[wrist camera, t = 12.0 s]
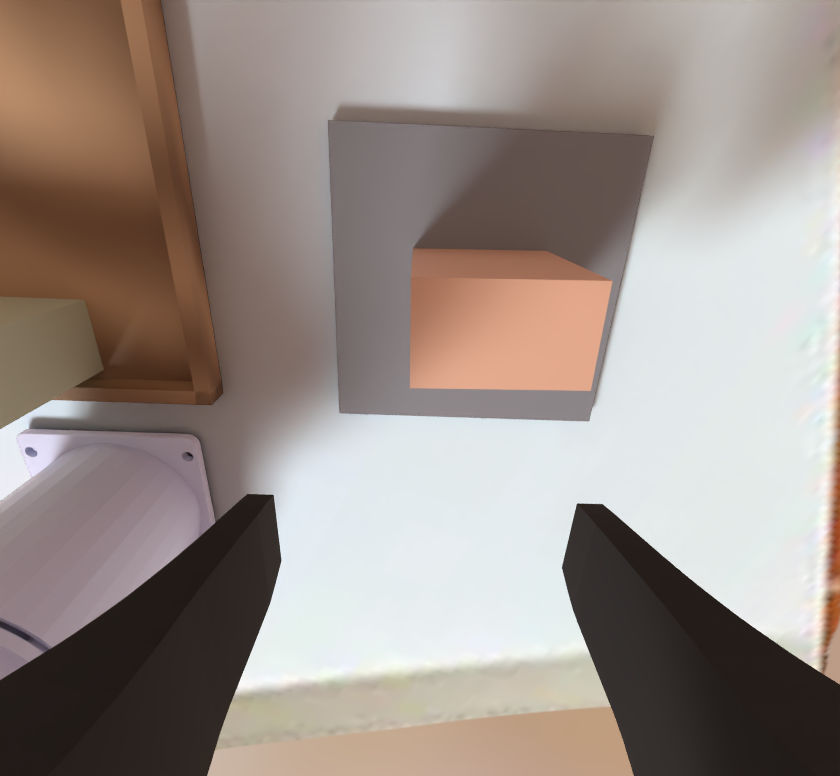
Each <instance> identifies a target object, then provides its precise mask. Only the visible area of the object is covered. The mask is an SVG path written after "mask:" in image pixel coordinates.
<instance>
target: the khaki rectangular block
mask: <svg viewBox="0 0 840 776" xmlns="http://www.w3.org/2000/svg"><path fill="white" fill-rule="evenodd" d="M103 370H104V368H103V365H102V361H101V357H100V354H99V350H98V346H97V343H96V339H95V336H94V332H93V328H92V325H91V321H90V318H89V314H88V310H87V307H86V303H85V300H79V299H53V298H27V297H1V296H0V429H1V428H3V427H5V426H6V425H8V424H10V423H12V422H13V421H15V420H17V419H19V418H20V417H22V416H24V415H26V414H27V413H29V412H31V411H33V410H34V409H36V408H38V407H40V406H41V405H43V404H45V403H47V402H48V401H50V400H52V399H54V398H55V397H57V396H59V395H61V394H62V393H64V392H66V391H68V390H69V389H71V388H73V387H75V386H76V385H78V384H80V383H82V382H83V381H85V380H87V379H89V378H90V377H92V376H94V375H96V374H98V373H99V372H101V371H103Z"/></svg>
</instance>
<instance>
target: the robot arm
mask: <svg viewBox="0 0 840 776" xmlns="http://www.w3.org/2000/svg"><path fill="white" fill-rule="evenodd" d="M16 439H17V443H18V446H19V448H20V451H21V453H22V456H23V458H24V461H25V463H26V466H27V468H28V471H29V473H30V476H31V479H30V480H28V481H27V482H26V483H24V484H23V485H22V486H20V487H19V488H17V489H16V490H15V491H13V492H12V493H11V494H9V495H8V496H7V497H5V498H4V499H3V500H1V501H0V776H207V774H208V771H209V767H210V764H211V761H212V758H213V754H214V751H215V748H216V744H217V741H218V738H219V734H220V731H221V729H222V726H223V723H224V720H225V717H226V715H227V712H228V709H229V706H230V704H231V701H232V699H233V696H234V694H235V691H236V689H237V686H238V684H239V681H240V678H241V676H242V673H243V671H244V668H245V666H246V663H247V661H248V658H249V656H250V653H251V651H252V648H253V646H254V643H255V641H256V638H257V636H258V633H259V630H260V628H261V625H262V623H263V620H264V618H265V615H266V612H267V610H268V607H269V605H270V601H271V598H272V594H273V591H274V587H275V583H276V580H277V576H278V572H279V568H280V564H281V553H280V545H279V537H278V528H277V520H276V512H275V503H274V495H258V494H247V495H246V496H245V497H244V498H243V499H241V500H240V501H239V502H238V503H237V504H236V505H235V506H233V507H232V508H231V509H230V510H229V511H228V512H227V513H226V514H224V515H223V516H222V517H221V518H220V519H219V520H218V521H217V522H215V517H214V512H213V507H212V502H211V497H210V491H209V486H208V481H207V476H206V471H205V466H204V460H203V455H202V450H201V445H200V442H199V440H198V439H197V438H196V437H195V436H193V435H191V434H176V433H144V432H112V431H80V430H49V429H26V430H24V431H23V432H21V433H20V434H18V435H17V438H16ZM33 448H34V449H35V450H36V451H35V450H34V449H33ZM186 452H190V453H191V454H192V455H193V457H191V456H189V455H187V453H186ZM562 569H563V573H564V577H565V581H566V585H567V590H568V593H569V597H570V601H571V604H572V608H573V611H574V614H575V616H576V619H577V622H578V624H579V627H580V629H581V632H582V635H583V637H584V640H585V642H586V645H587V647H588V650H589V652H590V655H591V657H592V660H593V662H594V665H595V667H596V670H597V673H598V675H599V678H600V680H601V683H602V685H603V688H604V690H605V693H606V695H607V698H608V700H609V703H610V705H611V708H612V710H613V713H614V716H615V718H616V721H617V724H618V727H619V730H620V732H621V735H622V738H623V741H624V744H625V748H626V751H627V754H628V758H629V761H630V764H631V767H632V771H633V774H634V776H840V684H838V683H836V682H835V681H833V680H831V679H830V678H828V677H827V676H825V675H823V674H822V673H820V672H819V671H817V670H816V669H814V668H812V667H811V666H809V665H808V664H806V663H805V662H803V661H802V660H800V659H799V658H797V657H796V656H794V655H793V654H791V653H790V652H788V651H787V650H785V649H784V648H782V647H781V646H779V645H778V644H777V643H775V642H774V641H772V640H771V639H769V638H768V637H766V636H765V635H764V634H762V633H761V632H759V631H758V630H756V629H755V628H753V627H752V626H751V625H749V624H748V623H747V622H745V621H744V620H742V619H741V618H740V617H738V616H737V615H736V614H734V613H733V612H732V611H730V610H729V609H728V608H726V607H725V606H724V605H723V604H721V603H720V602H719V601H717V600H716V599H715V598H713V597H712V596H711V595H710V594H708V593H707V592H706V591H704V590H703V589H702V588H701V587H699V586H698V585H697V584H696V583H694V582H693V581H692V580H691V579H689V578H688V577H687V576H686V575H685V574H683V573H682V572H681V571H680V570H679V569H677V568H676V567H675V566H674V565H673V564H671V563H670V562H669V561H668V560H667V559H666V558H664V557H663V556H662V555H661V554H660V553H659V552H657V551H656V550H655V549H654V548H653V547H652V546H650V545H649V544H648V543H647V542H646V541H645V540H644V539H642V538H641V537H640V536H639V535H638V534H637V533H636V532H634V531H633V530H632V529H631V528H630V527H629V526H628V525H626V524H625V523H624V522H623V521H622V520H621V519H620V518H618V517H617V516H616V515H615V514H614V513H612V512H611V511H610V510H609V509H608V508H606V507H605V506H604V505H603V504H577V506H576V510H575V515H574V519H573V523H572V527H571V532H570V536H569V540H568V544H567V549H566V553H565V557H564V561H563V566H562Z"/></svg>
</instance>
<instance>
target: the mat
mask: <svg viewBox="0 0 840 776" xmlns="http://www.w3.org/2000/svg"><path fill="white" fill-rule="evenodd" d="M328 133H329V158H330V183H331V209H332V234H333V260H334V285H335V310H336V336H337V361H338V386H339V412H340V413H349V414H379V415H410V416H440V417H471V418H501V419H532V420H562V421H589V420H590V415H591V411H592V406H593V402H594V398H595V393H596V389H597V384H598V380H599V376H600V371H601V367H602V362H603V358H604V354H605V349H606V345H607V340H608V336H609V332H610V327H611V323H612V318H613V314H614V310H615V305H616V301H617V296H618V292H619V288H620V283H621V279H622V274H623V270H624V266H625V261H626V257H627V252H628V248H629V244H630V239H631V235H632V230H633V226H634V222H635V217H636V213H637V208H638V204H639V200H640V195H641V191H642V186H643V182H644V178H645V173H646V169H647V164H648V160H649V156H650V151H651V147H652V142H653V138H654V136H649V135H628V134H607V133H586V132H566V131H545V130H524V129H504V128H483V127H462V126H441V125H421V124H400V123H379V122H359V121H338V120H328ZM413 248H422V249H474V250H525V251H548V252H550V253H552V254H555V255H557V256H559V257H561V258H563V259H566V260H568V261H570V262H572V263H574V264H576V265H579V266H581V267H583V268H585V269H587V270H590V271H592V272H594V273H596V274H598V275H601V276H603V277H605V278H607V279H609V280H611V281H612V286H611V291H610V296H609V301H608V306H607V311H606V317H605V322H604V327H603V332H602V337H601V342H600V347H599V352H598V357H597V362H596V367H595V372H594V377H593V382H592V387H591V391H566V390H498V389H431V388H410V326H411V270H412V255H413Z"/></svg>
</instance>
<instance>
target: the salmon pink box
mask: <svg viewBox="0 0 840 776" xmlns="http://www.w3.org/2000/svg"><path fill="white" fill-rule="evenodd" d="M611 286H612V281H611V280H609V279H607V278H605V277H603V276H601V275H598V274H596V273H594V272H592V271H590V270H587V269H585V268H583V267H581V266H579V265H576V264H574V263H572V262H570V261H568V260H566V259H563V258H561V257H559V256H557V255H555V254H552V253H550V252H548V251H525V250H474V249H422V248H413V255H412V270H411V326H410V388H431V389H498V390H566V391H591V387H592V382H593V377H594V372H595V367H596V362H597V357H598V352H599V347H600V342H601V337H602V332H603V327H604V322H605V317H606V311H607V306H608V301H609V296H610V291H611Z"/></svg>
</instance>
